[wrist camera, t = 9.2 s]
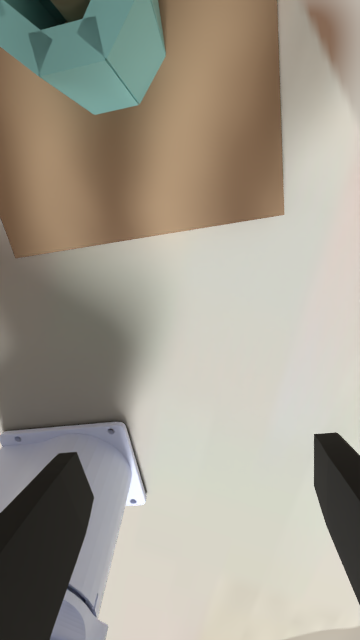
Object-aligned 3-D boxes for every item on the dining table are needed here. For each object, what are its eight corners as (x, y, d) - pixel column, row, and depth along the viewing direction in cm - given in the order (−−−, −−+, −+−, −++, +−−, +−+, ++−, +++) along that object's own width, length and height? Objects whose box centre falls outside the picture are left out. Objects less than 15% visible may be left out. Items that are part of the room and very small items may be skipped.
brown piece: (25, 254, 17) (-70, 289, 11) (-127, -176, 11) (-506, -595, 5) (279, 213, 16) (328, 228, 10) (258, -321, 10) (355, -1202, 4)
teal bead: (63, 121, 14) (-7, 87, 9) (23, -27, 12) (-89, -163, 7) (172, 97, 13) (156, 47, 9) (148, -64, 11) (111, -238, 7)
